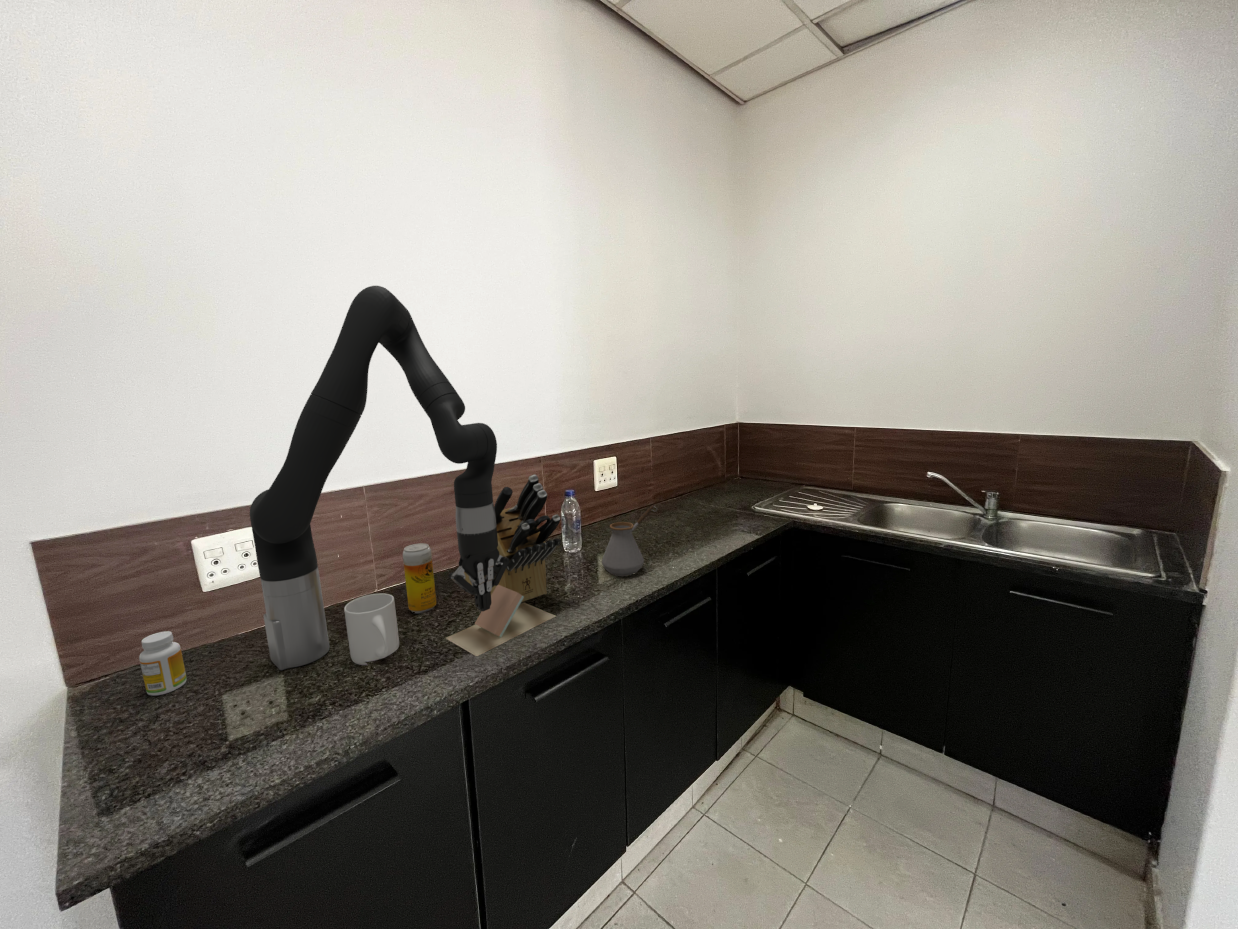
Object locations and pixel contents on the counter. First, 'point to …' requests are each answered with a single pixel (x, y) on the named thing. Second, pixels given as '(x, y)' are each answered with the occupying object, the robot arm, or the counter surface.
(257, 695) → the counter surface
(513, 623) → the board
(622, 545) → the coffee pot
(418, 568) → the beer can
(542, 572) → the knife block
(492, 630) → the pink rectangular block
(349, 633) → the mug
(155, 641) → the supplement bottle
